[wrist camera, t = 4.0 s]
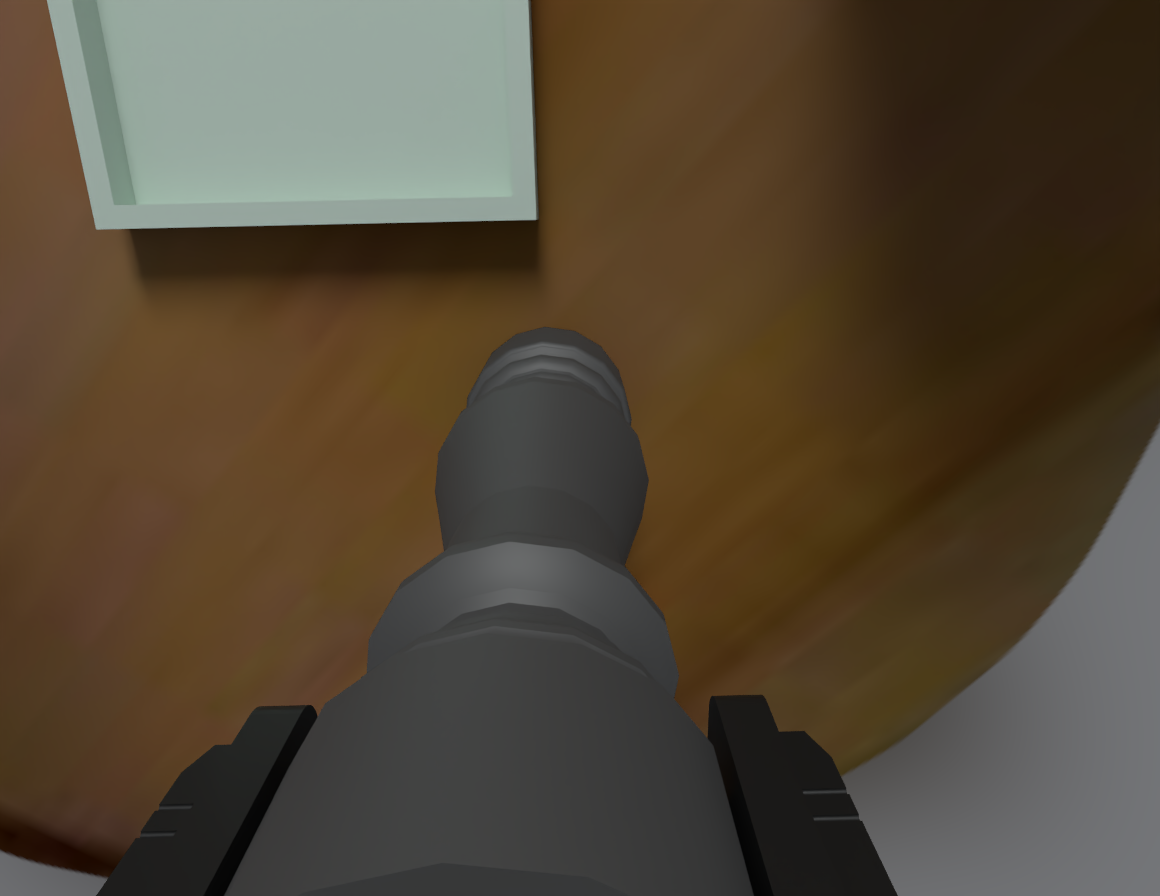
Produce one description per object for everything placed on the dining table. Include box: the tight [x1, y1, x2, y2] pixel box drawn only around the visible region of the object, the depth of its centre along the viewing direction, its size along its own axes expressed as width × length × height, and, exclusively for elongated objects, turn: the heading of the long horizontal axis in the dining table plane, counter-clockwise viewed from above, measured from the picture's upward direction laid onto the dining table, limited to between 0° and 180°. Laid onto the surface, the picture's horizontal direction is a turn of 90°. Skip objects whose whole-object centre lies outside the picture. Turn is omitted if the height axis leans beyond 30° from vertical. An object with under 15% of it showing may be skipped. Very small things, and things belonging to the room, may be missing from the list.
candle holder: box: [224, 327, 754, 896], centre depth 18 cm, size 6×6×25 cm
